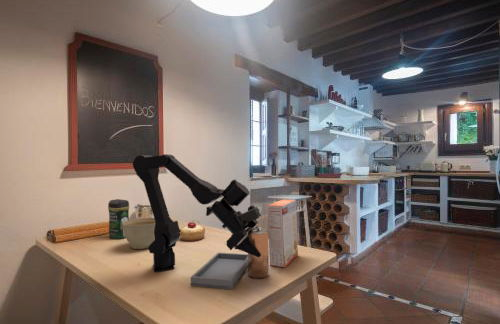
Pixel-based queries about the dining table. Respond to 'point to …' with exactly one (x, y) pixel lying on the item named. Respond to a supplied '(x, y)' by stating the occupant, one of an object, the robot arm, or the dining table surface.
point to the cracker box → (282, 232)
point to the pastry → (192, 232)
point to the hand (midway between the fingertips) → (262, 252)
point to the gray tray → (221, 271)
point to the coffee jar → (117, 217)
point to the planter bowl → (139, 232)
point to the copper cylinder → (260, 264)
